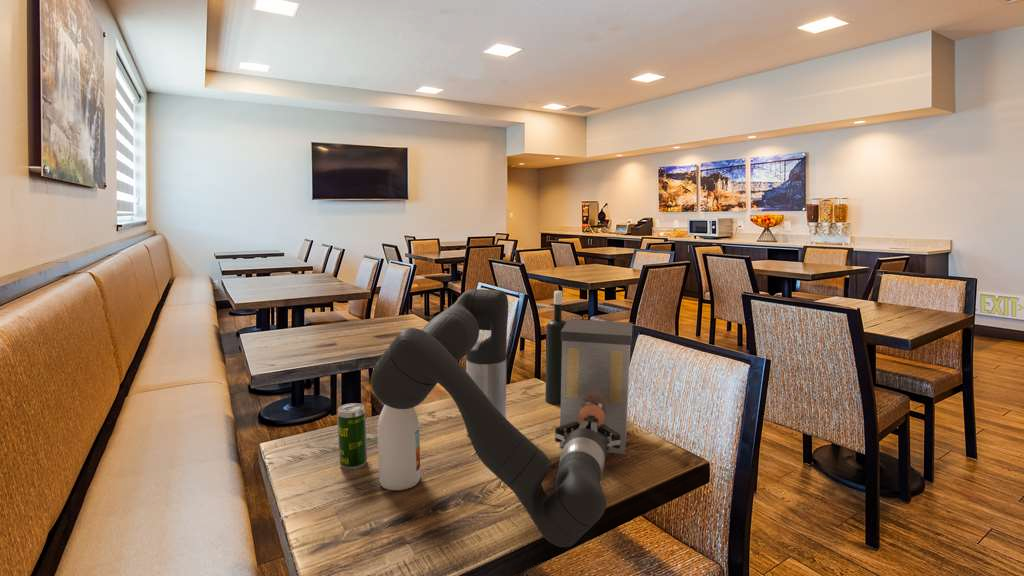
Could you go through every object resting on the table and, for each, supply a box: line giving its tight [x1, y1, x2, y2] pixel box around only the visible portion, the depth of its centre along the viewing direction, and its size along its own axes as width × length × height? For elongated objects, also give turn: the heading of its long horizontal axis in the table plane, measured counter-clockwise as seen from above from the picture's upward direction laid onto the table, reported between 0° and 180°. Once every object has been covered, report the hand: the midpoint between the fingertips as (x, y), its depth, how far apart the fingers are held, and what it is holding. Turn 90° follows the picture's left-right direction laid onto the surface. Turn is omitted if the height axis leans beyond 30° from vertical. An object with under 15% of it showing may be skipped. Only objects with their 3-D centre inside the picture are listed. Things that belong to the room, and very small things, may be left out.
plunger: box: [578, 403, 604, 426], centre depth 117 cm, size 14×5×5 cm, turn 166°
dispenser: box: [559, 318, 633, 455], centre depth 120 cm, size 13×15×26 cm
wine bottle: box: [544, 290, 567, 405], centre depth 143 cm, size 6×6×30 cm
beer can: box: [336, 402, 368, 471], centre depth 109 cm, size 5×5×12 cm
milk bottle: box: [377, 404, 421, 492], centre depth 102 cm, size 8×8×20 cm
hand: (591, 420), depth 111 cm, fingers closed
